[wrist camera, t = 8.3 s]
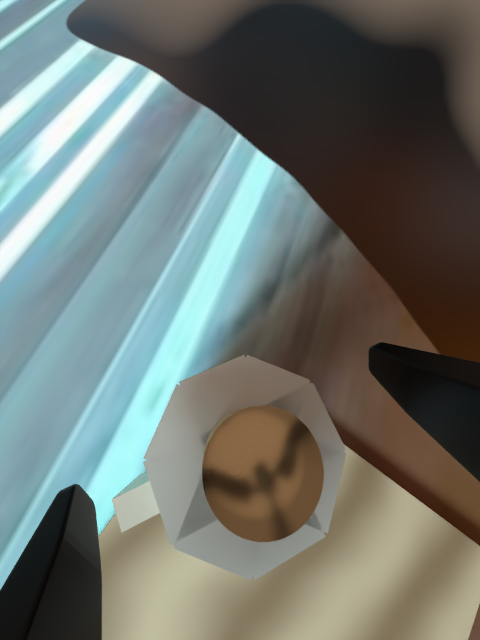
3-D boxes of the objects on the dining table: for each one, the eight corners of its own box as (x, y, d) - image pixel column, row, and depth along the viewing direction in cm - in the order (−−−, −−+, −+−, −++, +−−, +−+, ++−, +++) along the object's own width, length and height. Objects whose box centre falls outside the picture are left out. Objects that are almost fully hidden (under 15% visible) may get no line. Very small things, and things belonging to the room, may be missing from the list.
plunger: (253, 385, 18) (300, 357, 9) (288, 464, 17) (378, 516, 8) (178, 419, 17) (150, 423, 8) (210, 505, 16) (217, 617, 7)
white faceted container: (261, 358, 20) (293, 325, 13) (314, 473, 18) (387, 511, 11) (127, 415, 18) (73, 415, 11) (171, 552, 16) (144, 663, 9)
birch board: (479, 549, 19) (494, 556, 18) (347, 944, 13) (358, 984, 12) (229, 362, 21) (230, 359, 20) (22, 639, 15) (10, 653, 14)
